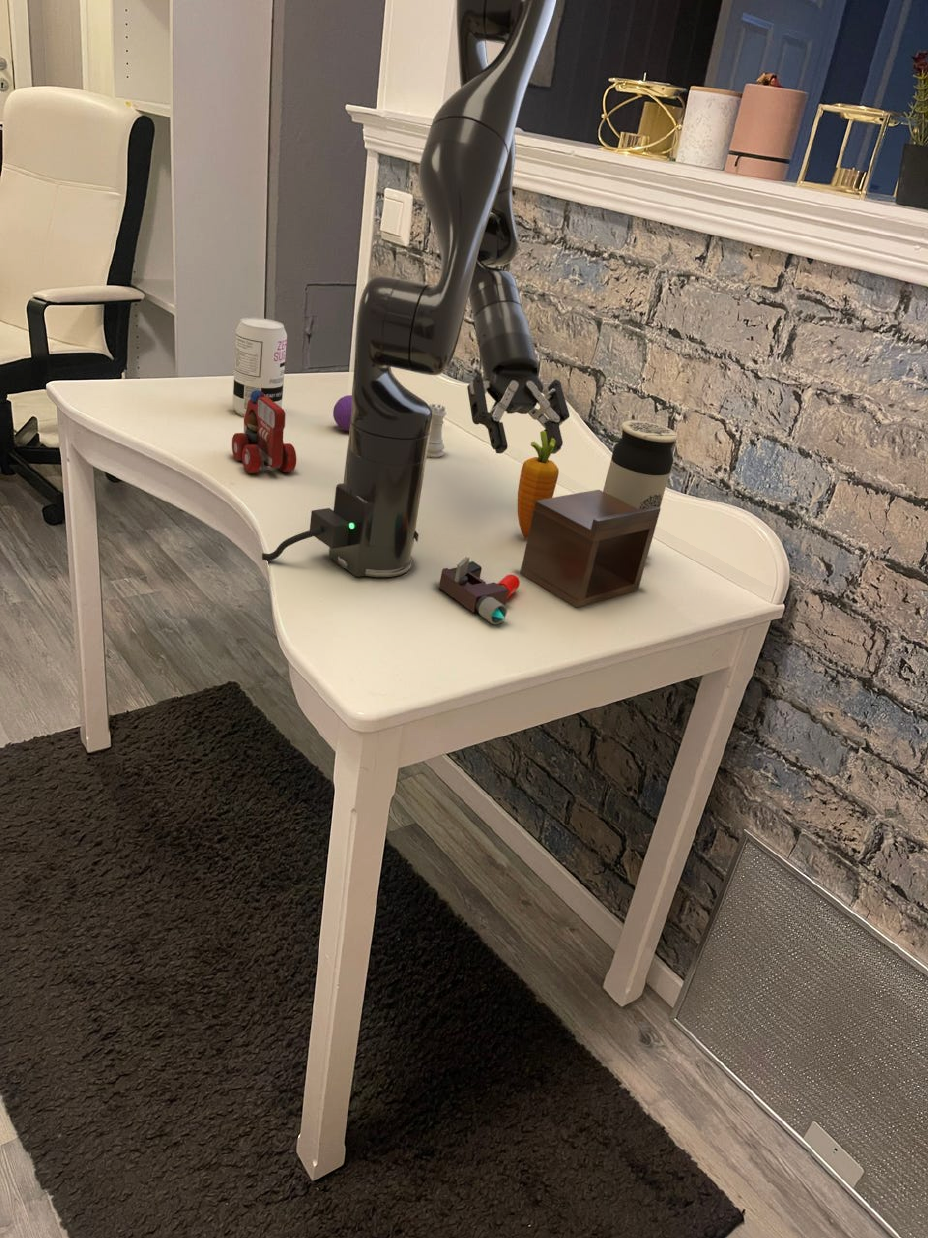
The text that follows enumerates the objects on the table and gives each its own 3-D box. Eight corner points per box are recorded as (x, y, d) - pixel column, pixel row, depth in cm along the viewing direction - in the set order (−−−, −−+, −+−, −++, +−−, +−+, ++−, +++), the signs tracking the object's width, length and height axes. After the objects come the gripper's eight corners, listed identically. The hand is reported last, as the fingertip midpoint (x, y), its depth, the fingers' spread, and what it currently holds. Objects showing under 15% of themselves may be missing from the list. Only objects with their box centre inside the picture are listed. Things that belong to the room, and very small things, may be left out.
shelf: (576, 607, 114) (598, 521, 108) (519, 573, 120) (537, 489, 115) (638, 589, 121) (661, 508, 116) (581, 558, 128) (601, 479, 122)
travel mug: (579, 541, 133) (609, 418, 124) (627, 541, 136) (659, 420, 127) (606, 566, 126) (639, 438, 118) (655, 566, 129) (691, 440, 121)
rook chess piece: (447, 458, 155) (455, 411, 151) (422, 457, 153) (429, 410, 150) (438, 449, 159) (445, 402, 155) (413, 448, 157) (420, 401, 153)
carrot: (541, 548, 128) (564, 443, 121) (505, 540, 129) (527, 435, 122) (545, 535, 133) (568, 433, 126) (510, 527, 133) (532, 425, 126)
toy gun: (492, 631, 105) (499, 593, 103) (427, 585, 112) (433, 548, 110) (553, 615, 111) (561, 579, 109) (487, 572, 118) (494, 537, 116)
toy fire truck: (270, 449, 145) (274, 382, 140) (299, 479, 136) (305, 409, 131) (225, 450, 141) (229, 382, 136) (253, 481, 132) (257, 409, 127)
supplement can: (229, 403, 162) (233, 314, 155) (277, 407, 164) (284, 319, 157) (234, 418, 155) (239, 326, 148) (284, 421, 158) (291, 331, 151)
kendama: (444, 408, 166) (350, 405, 153) (433, 438, 169) (340, 437, 156) (425, 392, 169) (332, 387, 156) (415, 422, 172) (323, 420, 159)
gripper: (471, 326, 125) (496, 439, 121) (561, 332, 131) (587, 439, 128) (448, 355, 131) (471, 463, 128) (535, 360, 138) (559, 462, 134)
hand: (529, 451), depth 128 cm, fingers open, 8 cm apart
